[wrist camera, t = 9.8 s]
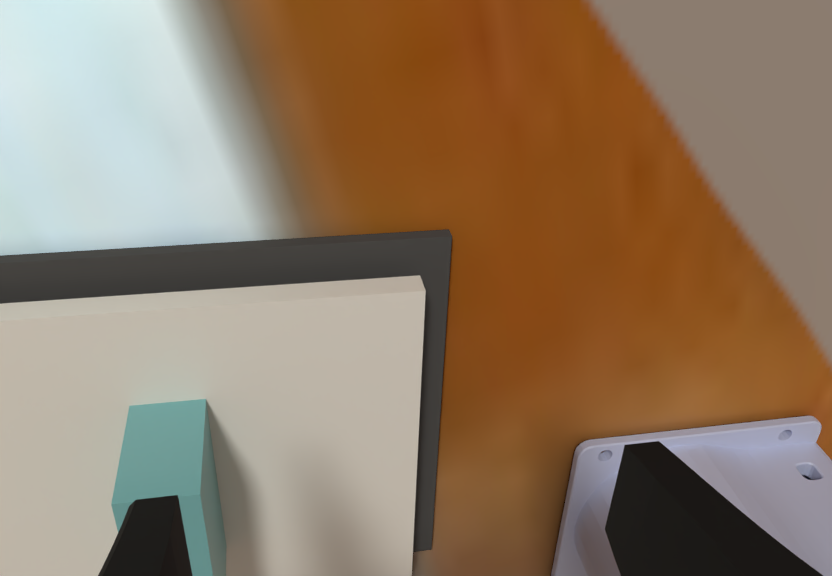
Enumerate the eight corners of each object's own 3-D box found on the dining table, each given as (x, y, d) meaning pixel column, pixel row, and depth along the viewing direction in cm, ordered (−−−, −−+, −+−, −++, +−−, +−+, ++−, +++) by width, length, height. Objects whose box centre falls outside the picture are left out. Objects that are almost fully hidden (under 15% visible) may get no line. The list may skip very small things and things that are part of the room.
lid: (416, 264, 22) (455, 371, 18) (404, 549, 28) (431, 676, 24) (-135, 300, 20) (-234, 433, 15) (-12, 603, 26) (-60, 755, 22)
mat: (448, 229, 22) (452, 236, 22) (429, 540, 29) (431, 549, 29) (-185, 266, 19) (-193, 274, 19) (-39, 601, 26) (-43, 611, 26)
